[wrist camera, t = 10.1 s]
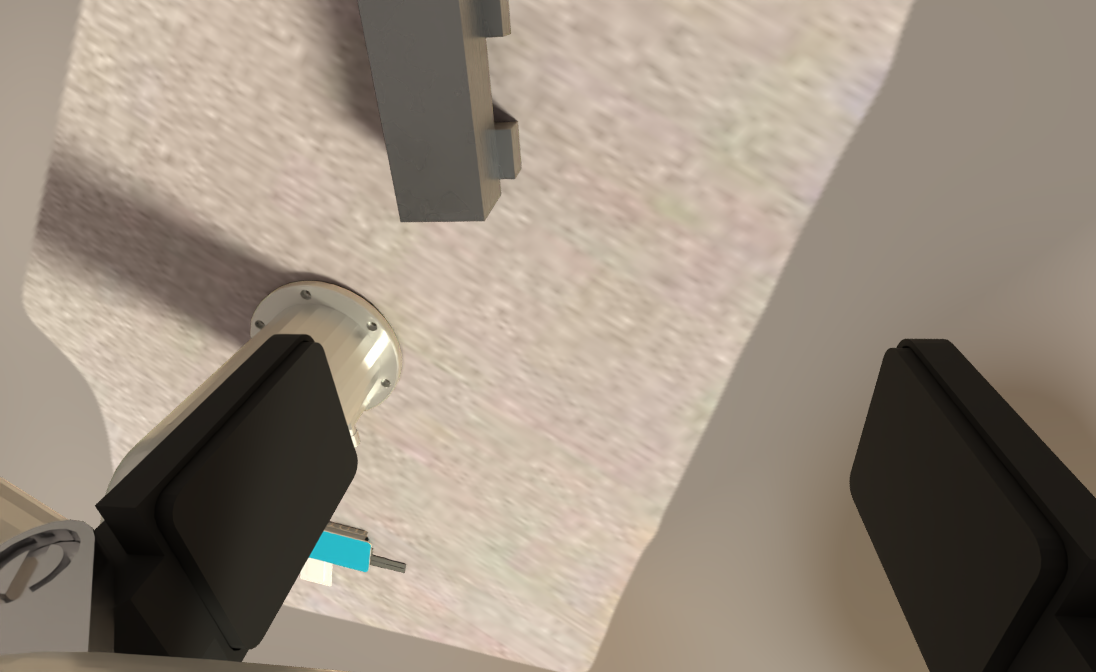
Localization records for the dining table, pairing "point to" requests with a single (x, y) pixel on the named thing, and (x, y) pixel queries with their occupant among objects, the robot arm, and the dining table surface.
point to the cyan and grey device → (342, 554)
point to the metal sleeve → (440, 105)
